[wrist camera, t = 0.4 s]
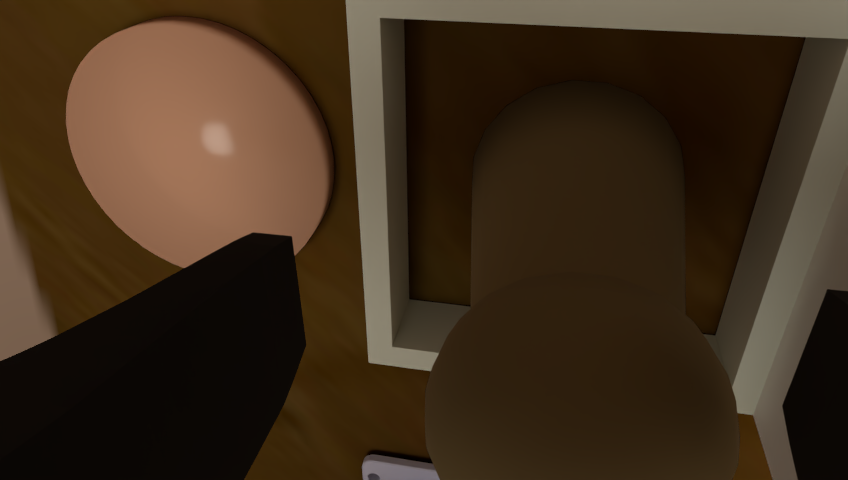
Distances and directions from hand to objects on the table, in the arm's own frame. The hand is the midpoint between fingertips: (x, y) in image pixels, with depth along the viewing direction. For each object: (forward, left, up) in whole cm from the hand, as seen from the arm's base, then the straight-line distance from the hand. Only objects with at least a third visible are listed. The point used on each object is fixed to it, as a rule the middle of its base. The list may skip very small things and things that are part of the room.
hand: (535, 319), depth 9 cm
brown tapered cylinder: (-3, -1, -10) cm, 11 cm away
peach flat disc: (-3, +11, -10) cm, 15 cm away
